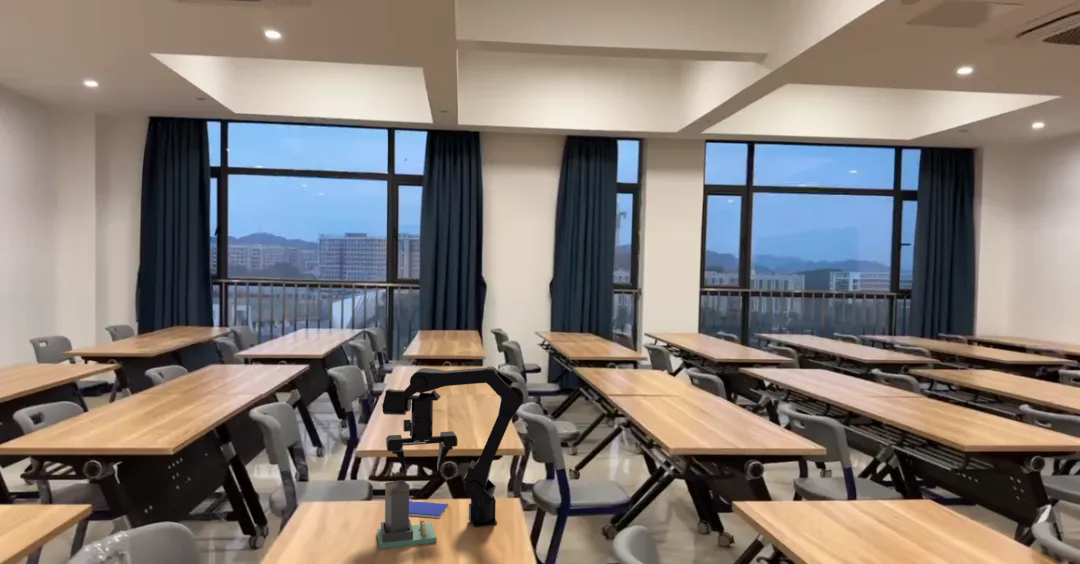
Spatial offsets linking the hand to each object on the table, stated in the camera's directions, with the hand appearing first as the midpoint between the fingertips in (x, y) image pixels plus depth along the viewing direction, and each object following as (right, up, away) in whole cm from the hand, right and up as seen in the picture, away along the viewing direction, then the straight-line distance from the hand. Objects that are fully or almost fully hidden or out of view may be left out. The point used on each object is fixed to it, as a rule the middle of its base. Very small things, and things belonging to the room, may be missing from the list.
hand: (421, 471), depth 174 cm
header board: (-2, -14, -11) cm, 18 cm away
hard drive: (-1, -14, +6) cm, 15 cm away
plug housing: (-4, -12, -12) cm, 18 cm away
